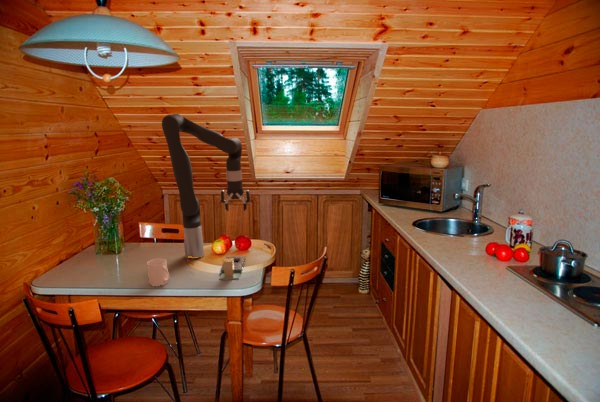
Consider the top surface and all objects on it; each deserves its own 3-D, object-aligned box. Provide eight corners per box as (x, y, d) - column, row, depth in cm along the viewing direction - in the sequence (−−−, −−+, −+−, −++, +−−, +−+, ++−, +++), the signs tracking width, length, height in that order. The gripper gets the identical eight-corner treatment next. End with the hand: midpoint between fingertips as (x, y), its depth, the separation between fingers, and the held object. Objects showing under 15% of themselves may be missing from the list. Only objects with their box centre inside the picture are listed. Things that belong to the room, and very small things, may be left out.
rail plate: (220, 273, 205) (220, 269, 205) (226, 260, 221) (226, 256, 220) (241, 273, 205) (241, 269, 205) (245, 259, 221) (245, 256, 220)
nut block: (224, 277, 200) (223, 261, 198) (226, 273, 204) (225, 258, 202) (233, 277, 200) (232, 261, 198) (234, 273, 204) (233, 258, 202)
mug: (162, 290, 190) (159, 268, 188) (145, 284, 197) (142, 263, 194) (177, 283, 197) (175, 261, 194) (160, 277, 204) (158, 256, 201)
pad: (219, 279, 199) (219, 278, 199) (221, 274, 205) (221, 273, 205) (238, 279, 199) (238, 278, 199) (240, 273, 205) (240, 272, 205)
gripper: (218, 180, 205) (220, 212, 210) (247, 180, 205) (249, 212, 209) (221, 177, 213) (223, 208, 217) (249, 177, 212) (251, 208, 216)
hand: (236, 210), depth 213 cm, fingers open, 8 cm apart
